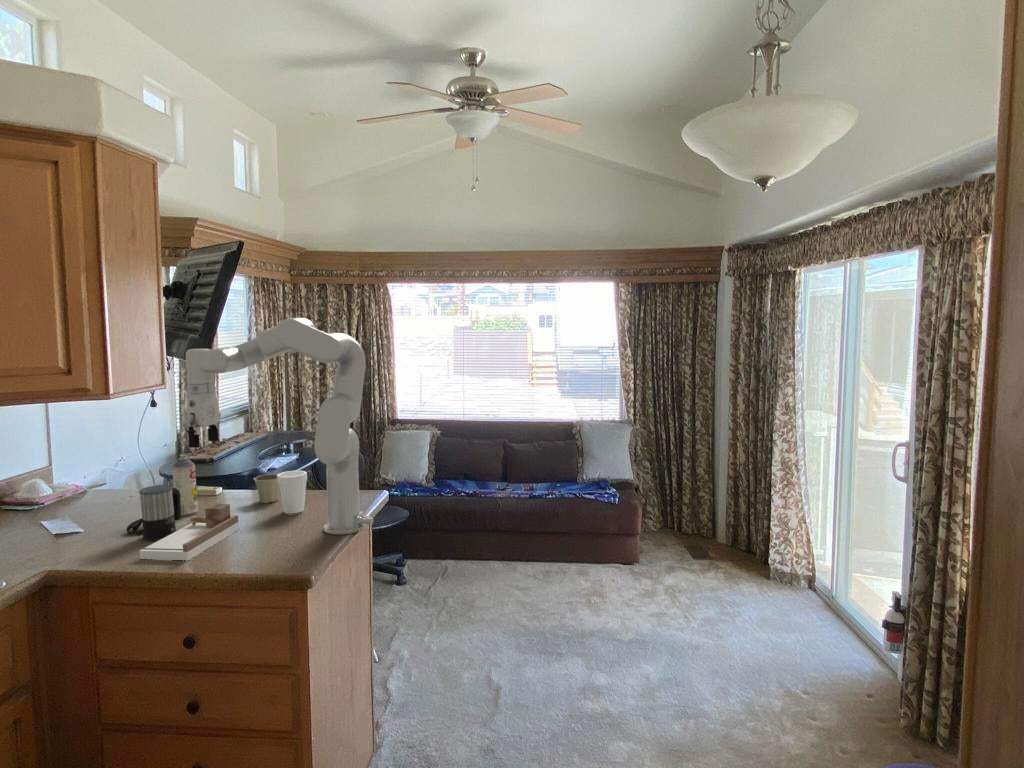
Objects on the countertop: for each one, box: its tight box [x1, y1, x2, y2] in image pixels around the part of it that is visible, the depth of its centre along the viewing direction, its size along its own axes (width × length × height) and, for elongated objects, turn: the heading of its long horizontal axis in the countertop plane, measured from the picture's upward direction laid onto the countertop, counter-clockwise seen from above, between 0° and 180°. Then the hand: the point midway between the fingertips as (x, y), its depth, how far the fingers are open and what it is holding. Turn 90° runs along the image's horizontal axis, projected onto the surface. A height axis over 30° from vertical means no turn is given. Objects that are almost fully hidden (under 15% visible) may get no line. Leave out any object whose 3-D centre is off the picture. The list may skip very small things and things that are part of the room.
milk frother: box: [126, 484, 182, 542], centre depth 199 cm, size 14×16×15 cm
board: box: [139, 514, 240, 562], centre depth 190 cm, size 14×26×4 cm, turn 173°
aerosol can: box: [172, 454, 199, 517], centre depth 220 cm, size 7×7×20 cm
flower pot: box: [253, 473, 280, 504], centre depth 234 cm, size 9×9×9 cm
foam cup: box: [277, 470, 308, 514], centre depth 220 cm, size 10×9×13 cm
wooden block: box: [190, 503, 232, 528], centre depth 199 cm, size 11×5×6 cm, turn 83°
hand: (204, 444), depth 202 cm, fingers open, 9 cm apart
